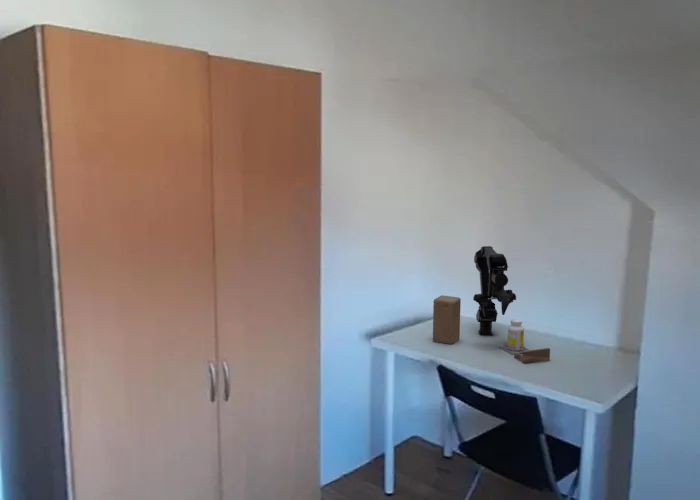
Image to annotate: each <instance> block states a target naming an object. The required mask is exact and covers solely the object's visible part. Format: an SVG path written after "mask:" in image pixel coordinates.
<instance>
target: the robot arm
mask: <svg viewBox="0 0 700 500" xmlns="http://www.w3.org/2000/svg"><path fill="white" fill-rule="evenodd" d="M493 248H494V247H493V246H490V245H489V246H487V245H486V246H483V245H482V246H481V247H480V249H479V250H477V251H476V252H475V254H474V256H473V257H474V258H473V262H474V264H475V268H476V270H477V271H478V272H479V282H480V293H475V294H474V295H473V301H474V302H476V303H477V304H478V305H479V306H478V309H477V311H476V314H475V320H476V321H477V323H479V329H478V331H477V332H478V335H479V336H493V335H494V332H493V330H492V329H493V323H496V322H497V319H498V318H497V317H498V314H499V313H498V311H497V309H496V304H495V302H493V300H497V301H498V302H499V303H501V315H502V316H504V315H505V314H506V311H507V310H508V307H509V305H510V304H512V303H513V302H514V301H517V294H516V293H515V292H513V290H512V289H505V287H506V286H507V284H508V282H509V278H508V276H507V275H506V274H505V272H508V268H509V265H508V260H507V258H506V256H505V255H504V254H503V253H500V252H499V253H498V252H496V251H495V250H494V249H493Z"/></svg>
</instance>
